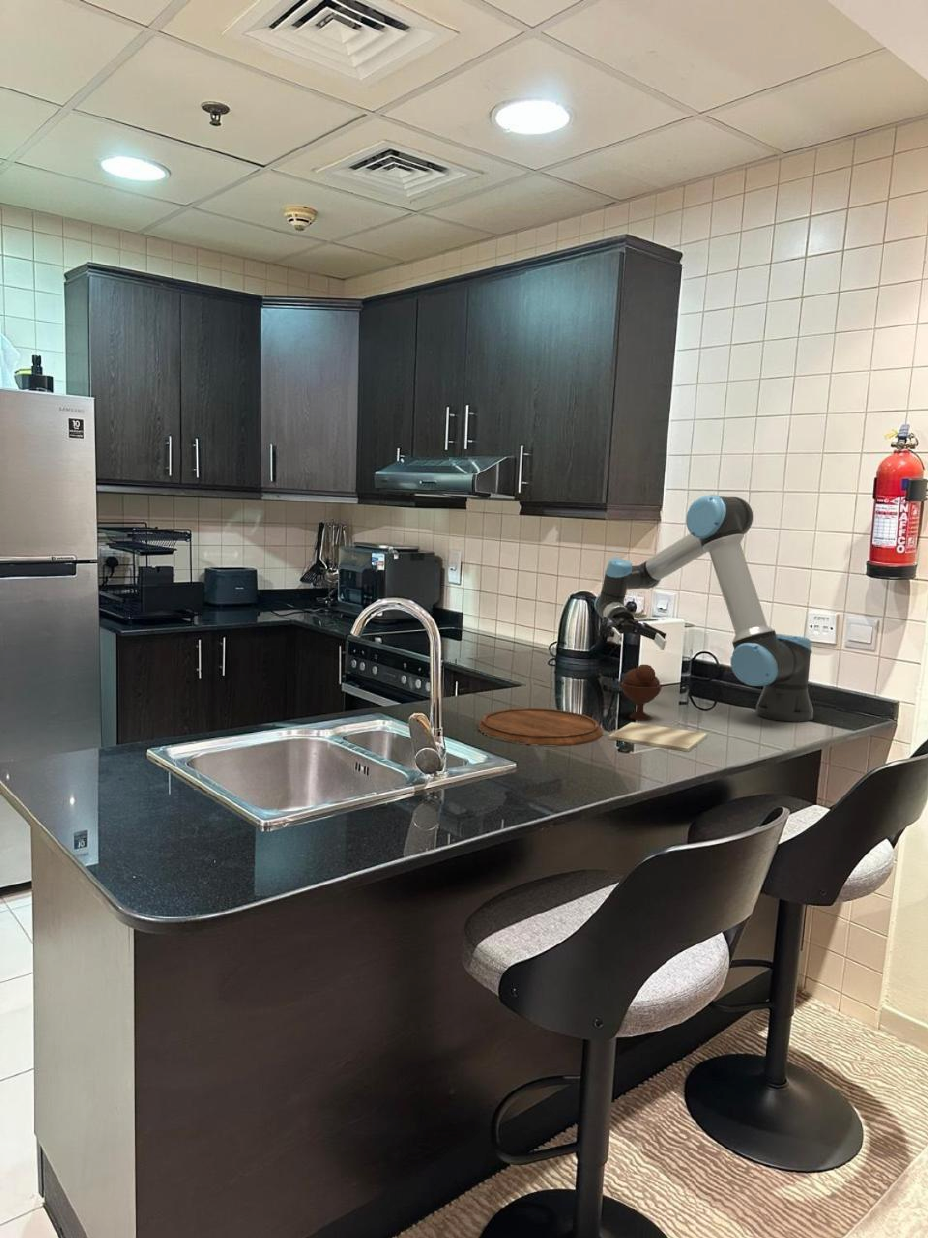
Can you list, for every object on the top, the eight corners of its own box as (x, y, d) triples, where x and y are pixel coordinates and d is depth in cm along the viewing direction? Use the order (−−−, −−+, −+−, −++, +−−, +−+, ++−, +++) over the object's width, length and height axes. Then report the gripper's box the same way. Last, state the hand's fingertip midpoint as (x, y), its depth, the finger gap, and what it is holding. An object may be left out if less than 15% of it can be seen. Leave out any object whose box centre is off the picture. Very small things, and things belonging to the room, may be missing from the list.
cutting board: (552, 755, 200) (552, 745, 200) (451, 729, 222) (451, 720, 221) (627, 732, 224) (627, 722, 224) (529, 710, 245) (529, 701, 245)
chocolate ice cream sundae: (663, 716, 241) (666, 662, 239) (654, 724, 231) (657, 668, 229) (625, 711, 246) (628, 659, 244) (615, 719, 236) (617, 665, 234)
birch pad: (707, 736, 220) (707, 733, 220) (688, 751, 205) (688, 748, 205) (631, 725, 230) (631, 722, 230) (608, 738, 215) (608, 735, 215)
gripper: (654, 634, 268) (679, 660, 248) (577, 624, 263) (596, 649, 243) (660, 612, 265) (686, 635, 245) (582, 601, 261) (602, 624, 241)
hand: (641, 642), depth 244 cm, fingers open, 13 cm apart
